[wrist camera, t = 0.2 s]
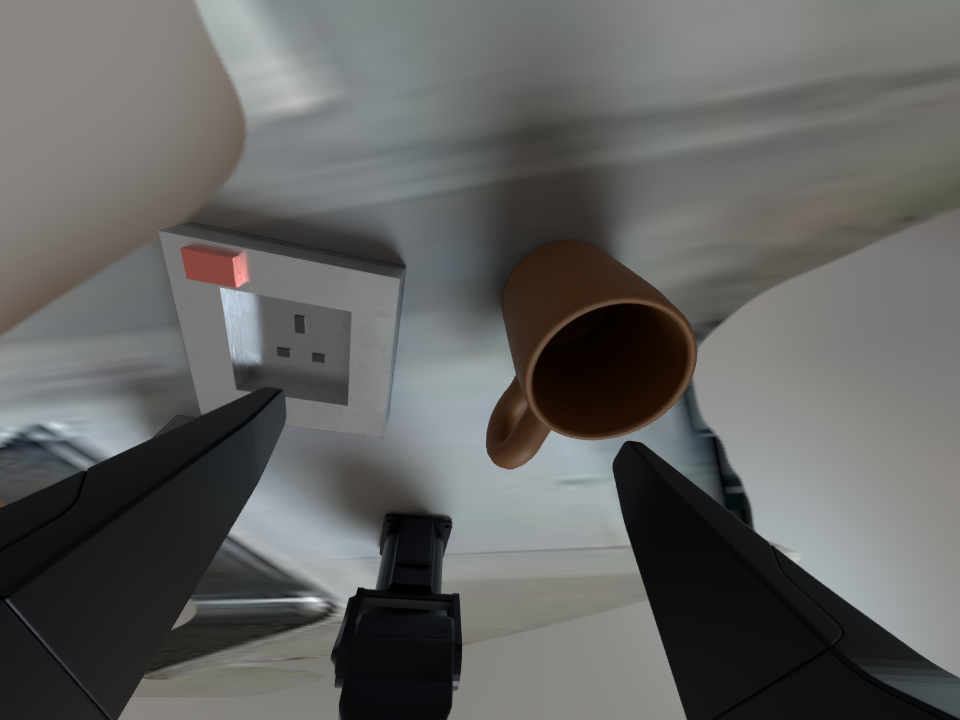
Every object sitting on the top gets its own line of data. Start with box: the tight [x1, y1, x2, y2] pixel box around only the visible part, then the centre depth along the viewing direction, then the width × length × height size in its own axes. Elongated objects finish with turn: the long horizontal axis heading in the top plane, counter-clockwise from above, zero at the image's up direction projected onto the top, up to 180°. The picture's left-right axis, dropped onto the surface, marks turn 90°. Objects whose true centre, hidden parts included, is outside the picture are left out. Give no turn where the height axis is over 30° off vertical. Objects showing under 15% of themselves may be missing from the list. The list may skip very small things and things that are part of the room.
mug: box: [486, 240, 697, 469], centre depth 20 cm, size 12×8×9 cm, turn 145°
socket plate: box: [158, 222, 406, 438], centre depth 22 cm, size 12×12×3 cm
